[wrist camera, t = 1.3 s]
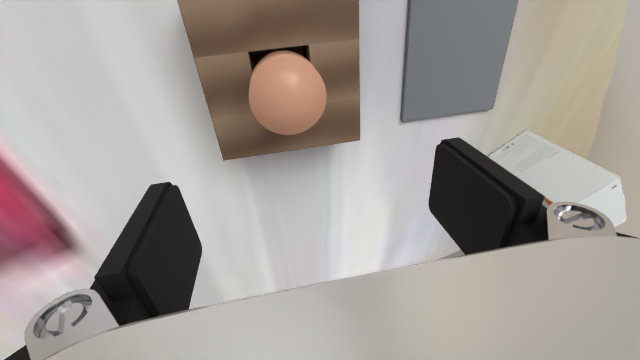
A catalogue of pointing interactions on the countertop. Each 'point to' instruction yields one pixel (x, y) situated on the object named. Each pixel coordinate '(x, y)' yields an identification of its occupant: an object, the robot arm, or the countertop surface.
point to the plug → (286, 92)
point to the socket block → (242, 57)
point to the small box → (562, 175)
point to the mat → (454, 55)
